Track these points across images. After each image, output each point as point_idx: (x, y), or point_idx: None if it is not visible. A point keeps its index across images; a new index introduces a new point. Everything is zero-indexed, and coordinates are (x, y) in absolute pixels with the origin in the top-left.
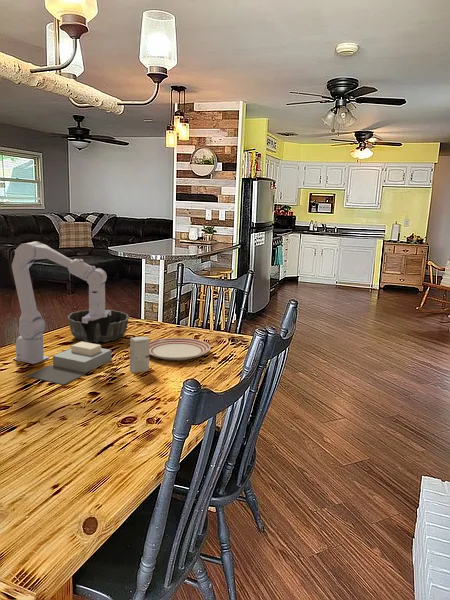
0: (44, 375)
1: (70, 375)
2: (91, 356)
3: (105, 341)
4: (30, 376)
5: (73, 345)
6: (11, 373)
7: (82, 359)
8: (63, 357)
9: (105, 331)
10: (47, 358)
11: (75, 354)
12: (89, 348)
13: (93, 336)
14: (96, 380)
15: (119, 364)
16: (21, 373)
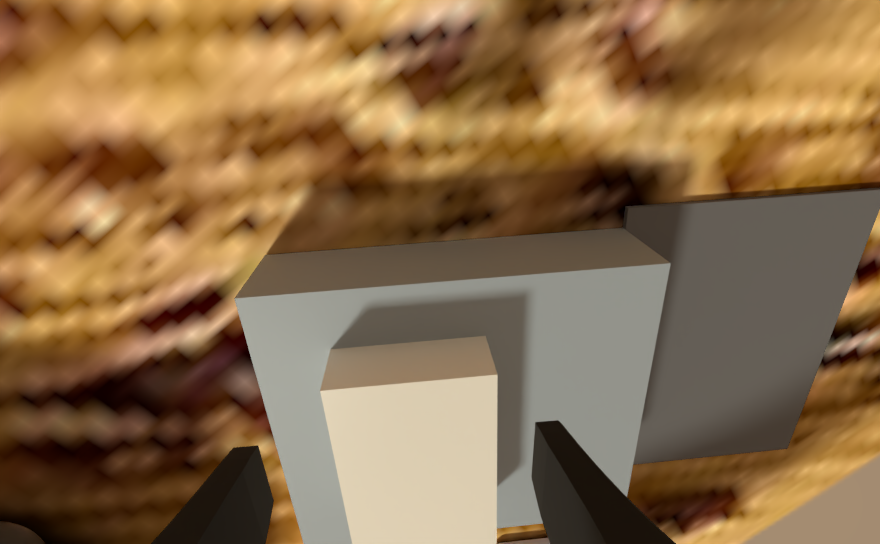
0: (760, 384)
1: (718, 265)
2: (504, 318)
3: (19, 526)
4: (794, 425)
5: (485, 534)
6: (759, 512)
7: (610, 324)
8: (627, 451)
9: (227, 510)
10: (509, 542)
11: (527, 437)
12: (483, 401)
13: (579, 465)
14: (736, 31)
15: (303, 120)
16: (747, 484)
